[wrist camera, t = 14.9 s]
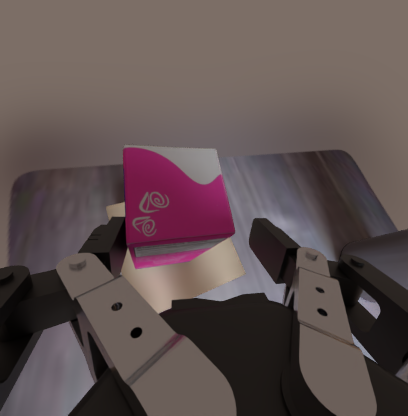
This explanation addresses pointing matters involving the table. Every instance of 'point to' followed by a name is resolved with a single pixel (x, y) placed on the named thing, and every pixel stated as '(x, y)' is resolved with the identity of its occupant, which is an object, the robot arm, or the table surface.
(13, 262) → the table surface
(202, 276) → the birch block
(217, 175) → the supplement box
